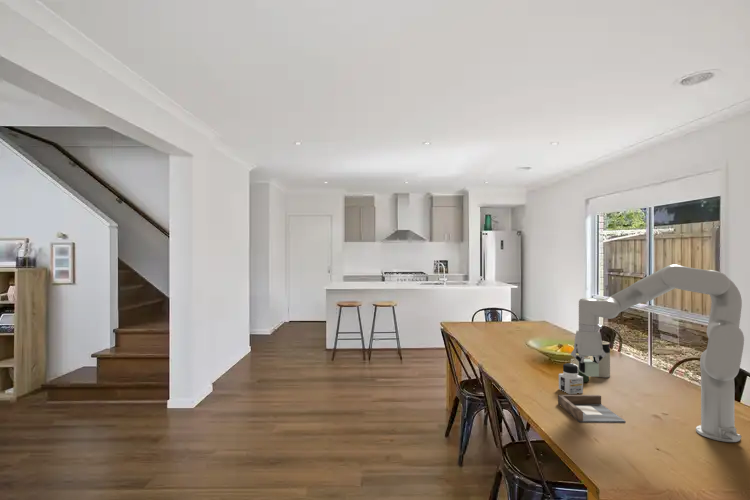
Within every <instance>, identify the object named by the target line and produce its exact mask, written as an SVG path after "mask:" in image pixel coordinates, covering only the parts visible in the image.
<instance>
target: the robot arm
mask: <svg viewBox="0 0 750 500" xmlns="http://www.w3.org/2000/svg"><path fill="white" fill-rule="evenodd" d="M675 289H678V290H681V291H687V292H692V293H698V294H704V295H709V297H710V300H711V303H710V314H709V319H708V324H707V326H706V327H707V328H706V336H707V338H708V340H707V346H706V349H705V350H703V352H701V355H700V359H699V364H700V365H699V366H700V424H699V425H696V427H695V432H697V434H699V435H700V436H703V437H705V438H708V439H710V440H713V441H718V442H723V443H737V442H740V441H741V439H742V435H741V434H739V433H738V432H737V428H736V427H735V422H736V421H735V393H736V392H735V390H736V389H735V378H736V377H737V376H738V374H739V372H740V368H741V364H742V357H743V353H744V345H745V336H744V333H743V331H742V329H741V328H740V323H741V316H742V307H743V306H742V305H743V300H742V294H741V292H740V290H739V288H738V287H737V285H736V284H735V283H734V282H733V281H732V280H731V279H730V278H729V277H728V276H727V275H726V274H724V273H723V272H721V271H718V270H714V269H702V268H694V267H690V266H689V267H688V266H683V265H679V264H675V263H673V264H669V265H667V266H665V267H663V268H662V267H661V269H659V270H657V271H654V272H653V273H651V274H649V275H647V276H645V277H643V278H642V279H639V280H637V281H636V282H634V283H632V284H630V285H629V286H627V287H625V288H623V289H622V290H619V291H618V292H615V293H614V294H612V295H611V296H608V297H606V298H604V299H603V300H598V299H596V298H592V297H589V298H588V297H585V298H583V297H581V298H580V299H579V300H578V330H576V331H575V336H574V341H573V342H574V346H573V350H572V351H571V353H570V355H571V356H572V357H573V358H574V359H575V358H576V359H577V360H578V361H579V370H580V371H581V372H583V373H585V363H584V358H585V356H590V357H592V360H593V361H594V362H595V363H597V364H598V363H599V362H600V360H601V359H602V358H604V357H605V356H606V353H605V352H604V350H603V347H602V341H603V340H602V334H601V332H600V330H602V329H603V326H602V325H601V324H599V323H600V320H599V319H600V318H604V319H609V320H610V319H615V318H616V317H618V316H619V314H620V313H621V312H623V311H625V310H627V309H630V308H631V307H634V306H636V305H638V304H642V303H648V302H650V301H653V300H655V299H657V298H658V297H661V296H662V295H665V294H667V293H668V292H670V291H672V290H675ZM577 355H579V356H577Z"/></svg>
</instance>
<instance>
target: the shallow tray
mask: <svg viewBox="0 0 750 500" xmlns="http://www.w3.org/2000/svg"><path fill="white" fill-rule="evenodd" d="M557 404H558V405H559V406H560V405H561V406H562V407H563V408H564V409H565V410H564V409H563V408H562V407H561V406H560V407H561V408H562V409H563V410H564V411H566V412H567V413H568V414H569V415H570V414H571V415H572V416H571V415H570V416H571V417H573V419H575V420H576V421H577V422H578V423H620V424H621V423H626V420H624V419H623V418H622V417H620V416H619V415H617V413H616V412H615V413H614V411H612V410H611V409H609V408H608V407H606V406H605V405H604V404H602V395H600V394H558V395H557Z"/></svg>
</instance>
